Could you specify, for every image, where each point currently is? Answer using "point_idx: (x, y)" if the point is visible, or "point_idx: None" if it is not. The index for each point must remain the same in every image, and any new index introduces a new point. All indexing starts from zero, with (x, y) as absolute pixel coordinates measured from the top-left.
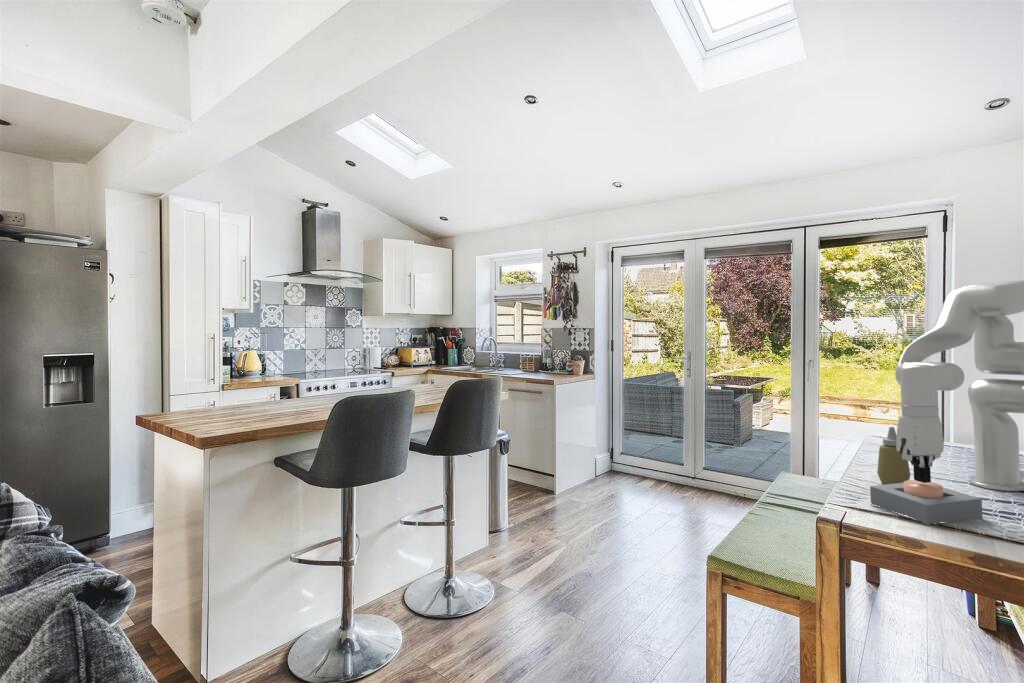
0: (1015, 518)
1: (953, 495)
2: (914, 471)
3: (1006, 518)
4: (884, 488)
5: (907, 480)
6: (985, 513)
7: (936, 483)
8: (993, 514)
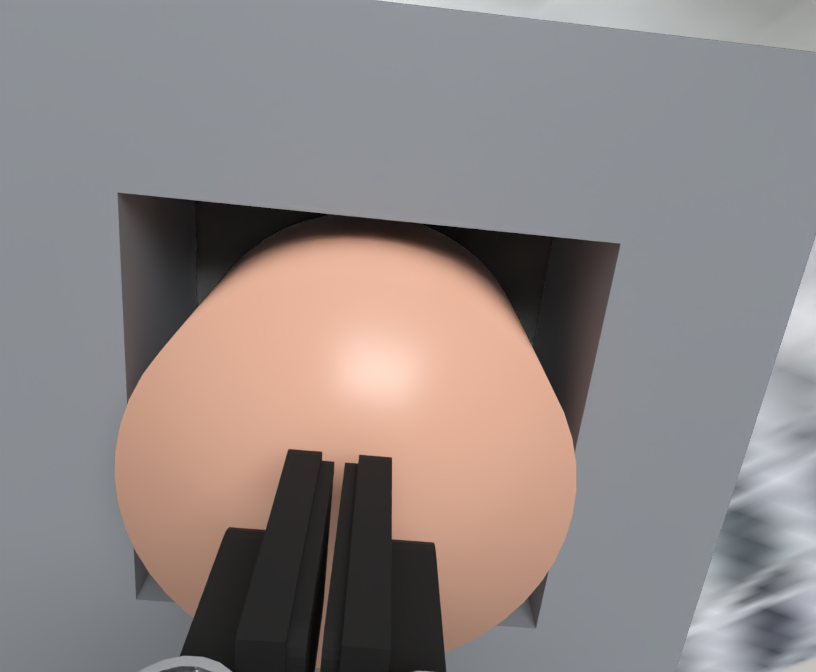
0: (797, 663)
1: (536, 612)
2: (200, 600)
3: (746, 646)
4: (11, 136)
5: (344, 276)
6: (748, 545)
7: (560, 529)
8: (771, 576)
